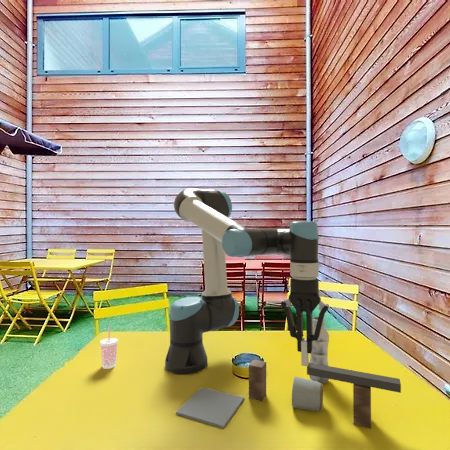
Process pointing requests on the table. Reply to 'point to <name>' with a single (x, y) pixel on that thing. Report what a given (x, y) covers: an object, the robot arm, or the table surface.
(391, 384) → the dark grey bar
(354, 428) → the table surface
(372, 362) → the table surface
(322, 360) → the plastic bottle
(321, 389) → the ceramic mug
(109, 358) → the beverage cup
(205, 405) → the mat
